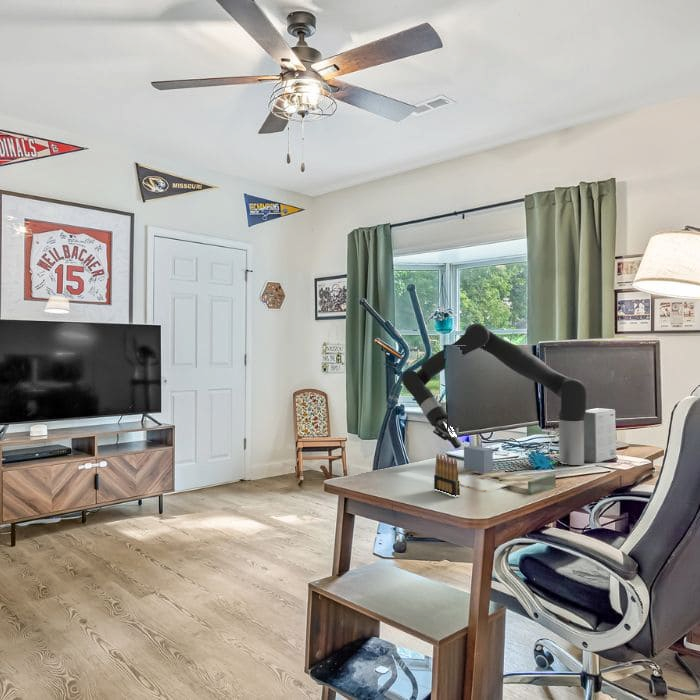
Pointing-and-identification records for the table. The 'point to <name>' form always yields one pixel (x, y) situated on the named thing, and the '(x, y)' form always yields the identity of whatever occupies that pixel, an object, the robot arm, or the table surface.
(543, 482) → the trap board
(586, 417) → the hard drive box
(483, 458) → the slate block
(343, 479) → the table surface
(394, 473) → the table surface
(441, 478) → the ammunition clip
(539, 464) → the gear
